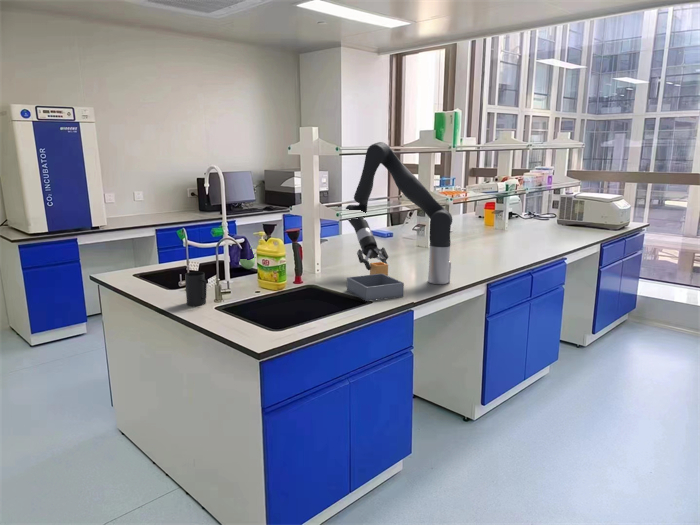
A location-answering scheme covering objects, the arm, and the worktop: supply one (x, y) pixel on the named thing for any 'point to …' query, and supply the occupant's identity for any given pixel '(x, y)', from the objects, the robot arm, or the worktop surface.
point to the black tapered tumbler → (195, 288)
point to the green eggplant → (248, 262)
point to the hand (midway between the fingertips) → (377, 268)
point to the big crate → (375, 287)
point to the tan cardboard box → (379, 268)
